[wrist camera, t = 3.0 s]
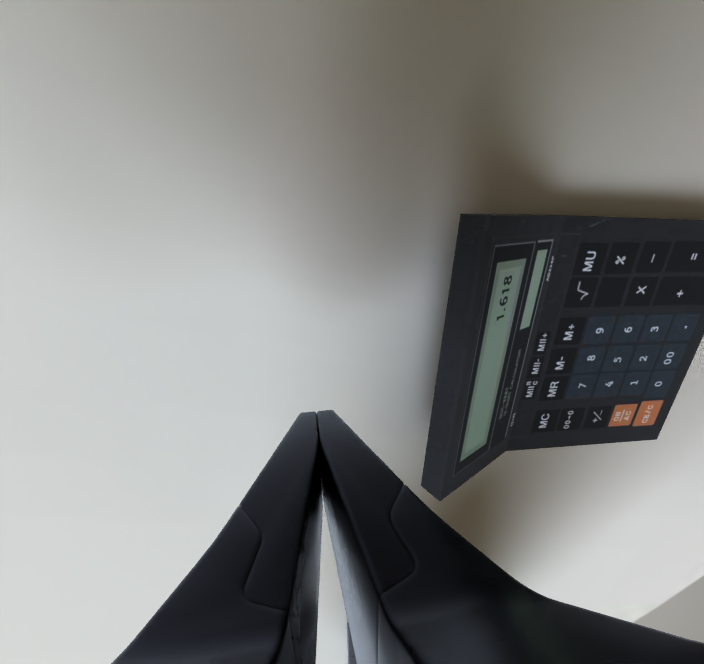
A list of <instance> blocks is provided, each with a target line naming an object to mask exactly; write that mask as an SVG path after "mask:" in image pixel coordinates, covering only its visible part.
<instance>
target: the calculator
mask: <svg viewBox="0 0 704 664" xmlns="http://www.w3.org/2000/svg"><path fill="white" fill-rule="evenodd" d="M703 335H704V220H678V219H650V218H623V217H595V216H567V215H514V214H461V215H460V222H459V229H458V236H457V242H456V249H455V256H454V263H453V270H452V277H451V283H450V290H449V297H448V304H447V311H446V318H445V325H444V331H443V338H442V345H441V352H440V359H439V366H438V372H437V379H436V386H435V393H434V400H433V407H432V414H431V420H430V427H429V434H428V441H427V448H426V455H425V462H424V468H423V475H422V482H421V486H422V487H423V488H424V489H426V490H427V491H428V492H429V493H430V494H432V495H433V496H434V497H435V498H436V499H438V500H439V501H441V500H442V499H443V498H445V497H446V496H447V495H449V494H450V493H451V492H453V491H454V490H455V489H457V488H458V487H459V486H461V485H462V484H463V483H465V482H466V481H467V480H468V479H470V478H471V477H472V476H474V475H475V474H476V473H478V472H479V471H480V470H482V469H483V468H484V467H486V466H487V465H488V464H490V463H491V462H492V461H493V460H495V459H496V458H497V457H499V456H500V455H501V454H503V453H504V452H505V451H512V450H525V449H538V448H551V447H564V446H577V445H590V444H603V443H616V442H629V441H642V440H655V439H657V438H658V435H659V433H660V431H661V429H662V426H663V424H664V422H665V420H666V418H667V415H668V413H669V411H670V409H671V406H672V404H673V402H674V400H675V397H676V395H677V393H678V391H679V389H680V386H681V384H682V382H683V380H684V377H685V375H686V373H687V371H688V368H689V366H690V364H691V362H692V360H693V357H694V355H695V353H696V351H697V348H698V346H699V344H700V342H701V340H702V337H703Z"/></svg>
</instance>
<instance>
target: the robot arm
mask: <svg viewBox="0 0 704 664" xmlns="http://www.w3.org/2000/svg"><path fill="white" fill-rule="evenodd" d="M321 479H322V480H321ZM322 492H323V497H322ZM323 501H324V506H325V512H326V517H327V522H328V526H329V531H330V536H331V541H332V546H333V550H334V555H335V560H336V565H337V570H338V574H339V579H340V584H341V589H342V594H343V599H344V603H345V608H346V613H347V618H348V622H347V636H348V664H704V643H702V642H698V641H694V640H689V639H686V638H682V637H679V636H676V635H672V634H669V633H665V632H662V631H658V630H655V629H652V628H648V627H645V626H641V625H638V624H634V623H631V622H628V621H624V620H621V619H617V618H614V617H611V616H607V615H604V614H600V613H597V612H593V611H590V610H587V609H583V608H580V607H576V606H573V605H569V604H566V603H563V602H559V601H556V600H553V599H550V598H547V597H545V596H543V595H540V594H538V593H536V592H535V591H533V590H531V589H529V588H527V587H526V586H524V585H523V584H521V583H520V582H518V581H517V580H515V579H514V578H513V577H511V576H510V575H509V574H508V573H506V572H505V571H504V570H503V569H501V568H500V567H499V566H498V565H496V564H495V563H494V562H493V561H491V560H490V559H489V558H488V557H487V556H485V555H484V554H483V553H482V552H480V551H479V550H478V549H477V548H476V547H474V546H473V545H472V544H471V543H469V542H468V541H467V540H466V539H465V538H463V537H462V536H461V535H460V534H458V533H457V532H456V531H455V530H454V529H452V528H451V527H450V526H449V525H448V524H447V523H445V522H444V521H443V520H442V519H441V518H440V517H438V516H437V515H436V514H435V513H434V512H433V511H431V510H430V509H429V508H428V507H427V506H426V505H425V504H424V503H423V502H422V501H421V500H420V499H419V498H418V497H417V496H416V495H415V494H414V493H413V492H412V491H411V490H410V489H409V488H408V487H407V486H406V485H404V483H403V482H402V481H401V480H400V479H399V478H398V477H397V476H396V475H395V474H394V473H393V472H392V471H391V470H390V469H389V467H388V466H387V465H386V464H385V463H384V462H383V461H382V460H381V459H380V458H379V457H378V456H377V455H376V454H375V453H374V452H373V451H372V450H371V449H370V448H369V447H368V446H367V445H366V444H365V443H364V442H363V441H362V440H361V439H360V438H359V437H358V436H357V435H356V434H355V433H354V432H353V431H352V430H351V428H350V427H349V426H348V425H347V424H346V423H345V422H344V421H343V420H342V419H341V418H340V417H339V416H338V415H337V414H336V413H335V412H334V411H333V410H325V411H318V412H317V414H316V412H305V413H301V414H299V416H298V417H297V419H296V420H295V422H294V423H293V425H292V426H291V428H290V429H289V431H288V432H287V434H286V435H285V437H284V438H283V440H282V441H281V443H280V444H279V446H278V447H277V449H276V450H275V452H274V453H273V455H272V456H271V458H270V459H269V461H268V462H267V464H266V465H265V467H264V468H263V470H262V471H261V473H260V474H259V476H258V478H257V479H256V481H255V482H254V484H253V485H252V487H251V488H250V490H249V491H248V493H247V494H246V496H245V497H244V499H243V500H242V502H241V503H240V505H239V507H237V509H236V510H235V512H234V513H233V515H232V516H231V518H230V519H229V521H228V522H227V524H226V525H225V526H224V528H223V529H222V531H221V532H220V534H219V535H218V536H217V538H216V539H215V541H214V542H213V543H212V545H211V546H210V547H209V548H208V550H207V551H206V552H205V553H204V555H203V556H202V557H201V559H200V560H199V561H198V562H197V564H196V565H195V566H194V567H193V569H192V570H191V571H190V572H189V573H188V575H187V576H186V577H185V578H184V580H183V581H182V582H181V583H180V584H179V586H178V587H177V588H176V589H175V590H174V592H173V593H172V594H171V595H170V596H169V598H168V599H167V600H166V601H165V603H164V604H163V605H162V606H161V607H160V609H159V610H158V611H157V612H156V613H155V615H154V616H153V617H152V618H151V619H150V621H149V622H148V623H147V624H146V626H145V627H144V628H143V629H142V630H141V632H140V633H139V634H138V635H137V636H136V638H135V639H134V640H133V641H132V642H131V643H130V644H129V646H128V647H127V648H126V649H125V650H124V651H123V652H122V653H121V654H120V655H119V656H118V657H117V658H116V659H115V660H114V661H113V662H112V663H111V664H315V661H316V640H317V618H318V597H319V575H320V554H321V532H322V511H323Z"/></svg>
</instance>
